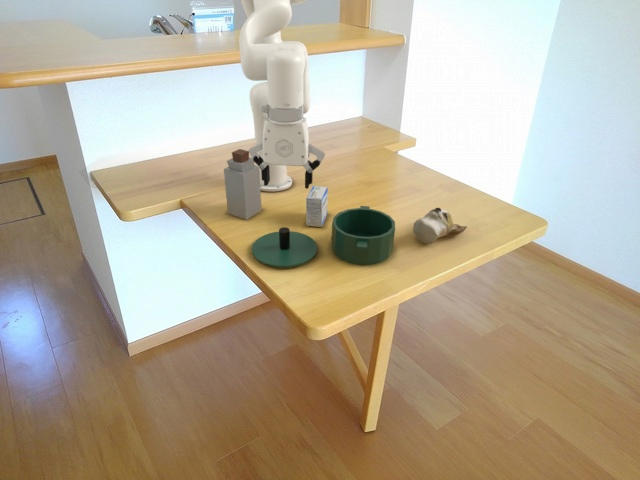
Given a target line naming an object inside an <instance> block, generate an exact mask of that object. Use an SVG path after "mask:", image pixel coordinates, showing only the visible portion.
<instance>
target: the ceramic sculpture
mask: <svg viewBox="0 0 640 480" xmlns="http://www.w3.org/2000/svg"><path fill="white" fill-rule="evenodd" d="M467 228H468V226H467V225H461V224H457V223H453V217H452V214H451V213H450V212H449V211H447V210H445V209H443V208H441V207H435V208H433V209H430V210H429V212H428V213H426V214H425V215H424V216H423V217H422V218H418V219H417V220H415V222H414V223H413V234H414V236H415V238H416V239H418V241H419V242H421V243H422V244H428V245H432V244H433V243H435V242H436V240H437V239H438V238H442V237H445V236H458V235H460V234H462V233H464V232H465V230H466V229H467Z"/></svg>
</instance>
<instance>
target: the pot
mask: <svg viewBox="0 0 640 480" xmlns="http://www.w3.org/2000/svg"><path fill="white" fill-rule="evenodd" d="M359 206H360V207H355V208H347V209H345V210H342V211H340V212H338V213H337V214H335V215H334V217H333V218H332V222H331V251H332V253H333V254H334V256H335V257H336V258H338V259H339V260H340V261H343V262H346V263H348V264H352V265H357V266H373V265H378V264H382V263H383V262H385V261H387V260H388V259H389V258H390V257H391V256H392V253H393V250H394V244H395V243H394V242H395V233H396V221H395V220H394V218H392V217H391V215H388V214H387V213H385V212H383V211H381V210H378V209H373V208H370V206H368V205H359Z"/></svg>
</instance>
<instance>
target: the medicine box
mask: <svg viewBox="0 0 640 480" xmlns="http://www.w3.org/2000/svg"><path fill="white" fill-rule="evenodd" d="M328 192H329V189H328V187H327V186H320V185H319V186H318V185H313V186H312V187H311V189H310V190H309V192H308V194H307V196H306V198H305V212H306V213H305V214H306V216H305V217H306V219H305V223H306V226H307V227H315V228H322V227H323V225H324V223H325V221H326V218H327V215H328V201H329V199H328V198H329V197H328V194H329V193H328Z"/></svg>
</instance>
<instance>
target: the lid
mask: <svg viewBox="0 0 640 480" xmlns="http://www.w3.org/2000/svg"><path fill="white" fill-rule="evenodd" d="M317 254H318V244H317V242H316V240H315V239H314V238H312V236H311V237H310V235H307V234H305V233H302V232H300V231H292V230H290V228H289V227H286V226H284V227H283V226H282V227H280V228H279V229H278V231H274V232H268V233H266V234H264V235H262V236H260V237H258V238H257V239H256V240H255V241H254V242H253V244H252V246H251V255H252V256H253V257H254V259H255V260H256V261H257V262H259V263H261V264H263V265H265V266H269V267H272V268H278V269H287V268H295V267H300V266H302V265H305V264H307V263H309V262H310V261H312V260H313V259H314V258H315V257H316V255H317Z"/></svg>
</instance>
